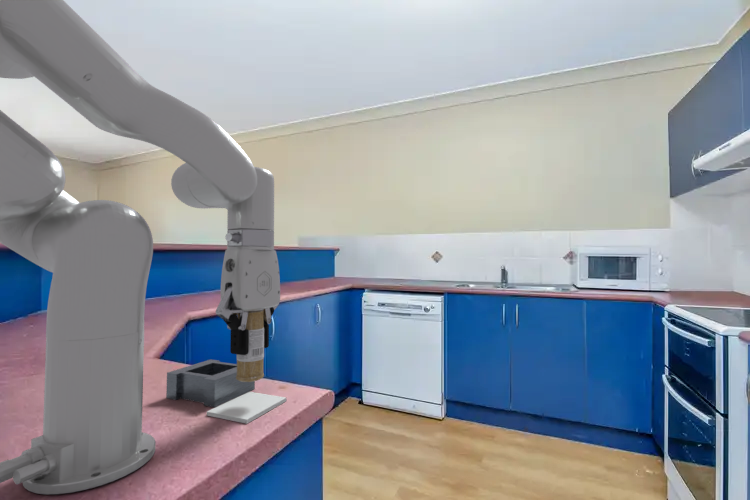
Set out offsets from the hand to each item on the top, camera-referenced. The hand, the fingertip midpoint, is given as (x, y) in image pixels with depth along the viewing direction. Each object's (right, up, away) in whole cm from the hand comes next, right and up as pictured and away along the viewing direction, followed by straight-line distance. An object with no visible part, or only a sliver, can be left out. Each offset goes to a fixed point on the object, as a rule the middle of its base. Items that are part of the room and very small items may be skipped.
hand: (250, 349), depth 63 cm
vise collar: (-9, -10, +6) cm, 15 cm away
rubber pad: (0, -10, -1) cm, 10 cm away
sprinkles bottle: (0, -5, 0) cm, 5 cm away
